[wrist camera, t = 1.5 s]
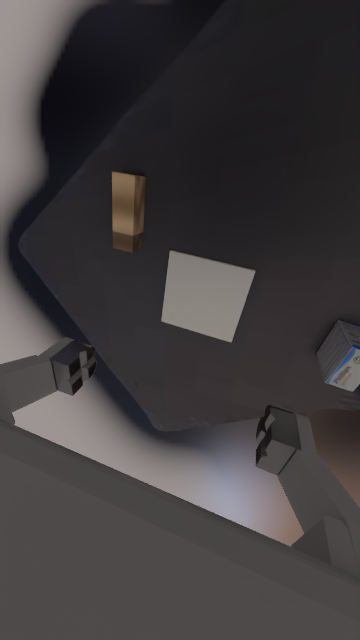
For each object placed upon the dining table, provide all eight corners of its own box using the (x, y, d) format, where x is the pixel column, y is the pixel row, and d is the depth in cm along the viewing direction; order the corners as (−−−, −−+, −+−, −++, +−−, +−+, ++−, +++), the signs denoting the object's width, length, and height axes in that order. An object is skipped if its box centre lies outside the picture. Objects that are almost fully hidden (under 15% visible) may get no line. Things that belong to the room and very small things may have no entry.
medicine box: (339, 360, 44) (353, 393, 37) (314, 352, 44) (324, 383, 37) (364, 326, 39) (386, 357, 32) (336, 318, 40) (352, 347, 33)
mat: (171, 249, 43) (169, 250, 43) (255, 270, 40) (255, 271, 40) (162, 319, 52) (161, 321, 51) (231, 340, 49) (231, 342, 48)
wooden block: (124, 173, 39) (112, 171, 36) (146, 176, 39) (134, 175, 35) (123, 243, 46) (113, 247, 43) (142, 247, 45) (132, 252, 42)
